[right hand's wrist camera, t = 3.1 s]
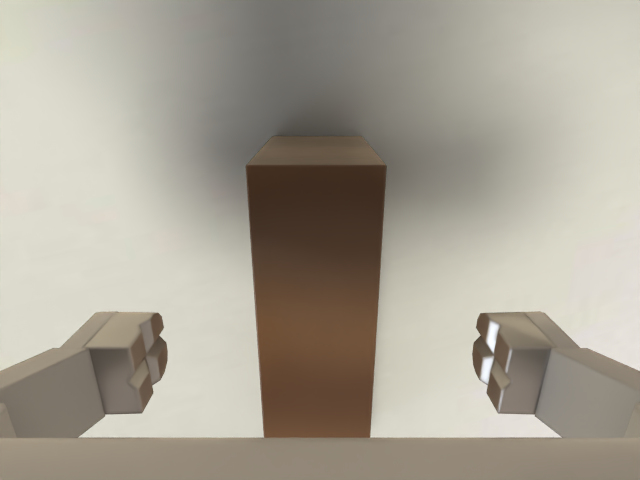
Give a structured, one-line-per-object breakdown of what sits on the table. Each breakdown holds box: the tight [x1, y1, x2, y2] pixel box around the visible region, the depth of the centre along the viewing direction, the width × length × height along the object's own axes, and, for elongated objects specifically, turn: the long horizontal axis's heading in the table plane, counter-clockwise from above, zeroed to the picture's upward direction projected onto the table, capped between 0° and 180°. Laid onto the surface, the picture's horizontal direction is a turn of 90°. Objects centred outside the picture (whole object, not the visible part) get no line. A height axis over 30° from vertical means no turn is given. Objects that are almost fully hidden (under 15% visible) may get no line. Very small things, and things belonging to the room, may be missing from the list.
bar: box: [246, 136, 387, 438], centre depth 23 cm, size 22×5×9 cm, turn 0°
